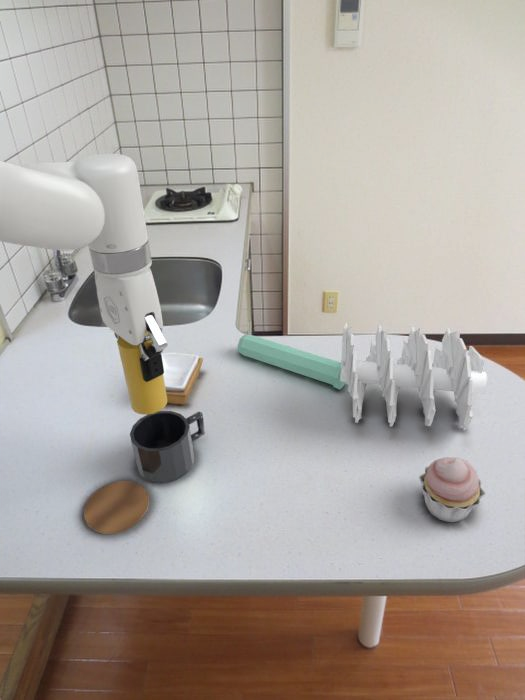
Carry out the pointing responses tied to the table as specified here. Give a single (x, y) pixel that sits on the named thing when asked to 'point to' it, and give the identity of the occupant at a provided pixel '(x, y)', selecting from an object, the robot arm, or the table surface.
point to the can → (141, 380)
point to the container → (292, 359)
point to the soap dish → (180, 375)
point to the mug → (165, 445)
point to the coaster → (116, 507)
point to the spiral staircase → (415, 372)
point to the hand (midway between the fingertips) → (142, 367)
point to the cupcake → (451, 488)
